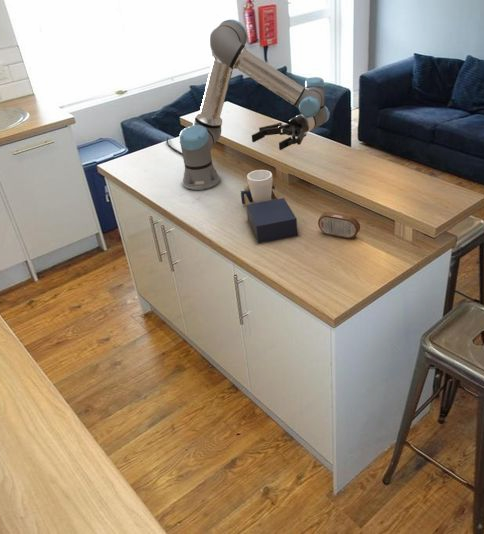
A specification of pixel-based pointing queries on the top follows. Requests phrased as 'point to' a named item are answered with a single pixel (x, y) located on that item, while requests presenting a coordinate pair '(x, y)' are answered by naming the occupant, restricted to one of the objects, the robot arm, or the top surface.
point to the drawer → (247, 195)
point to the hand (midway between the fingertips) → (265, 142)
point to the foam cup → (260, 185)
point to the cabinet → (271, 220)
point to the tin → (338, 225)
